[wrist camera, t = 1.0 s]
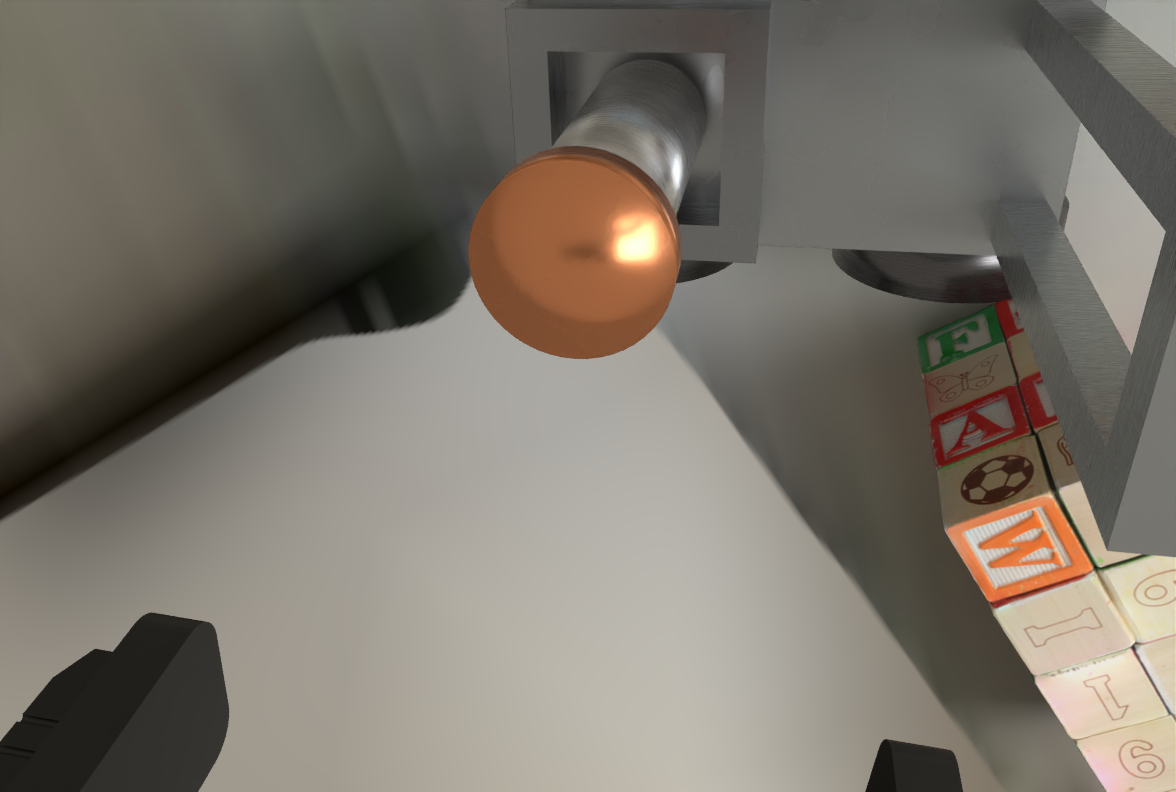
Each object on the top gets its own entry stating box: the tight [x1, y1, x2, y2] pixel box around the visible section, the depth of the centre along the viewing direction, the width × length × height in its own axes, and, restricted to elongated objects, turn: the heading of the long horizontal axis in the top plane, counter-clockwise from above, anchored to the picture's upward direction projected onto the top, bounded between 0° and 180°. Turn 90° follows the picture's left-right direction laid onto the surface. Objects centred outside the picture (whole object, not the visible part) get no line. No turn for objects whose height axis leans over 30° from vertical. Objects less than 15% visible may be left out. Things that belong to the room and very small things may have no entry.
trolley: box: [505, 0, 1176, 557], centre depth 25 cm, size 17×12×22 cm
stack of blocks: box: [917, 299, 1176, 792], centre depth 36 cm, size 21×6×12 cm, turn 34°
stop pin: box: [469, 59, 706, 359], centre depth 23 cm, size 4×4×10 cm
